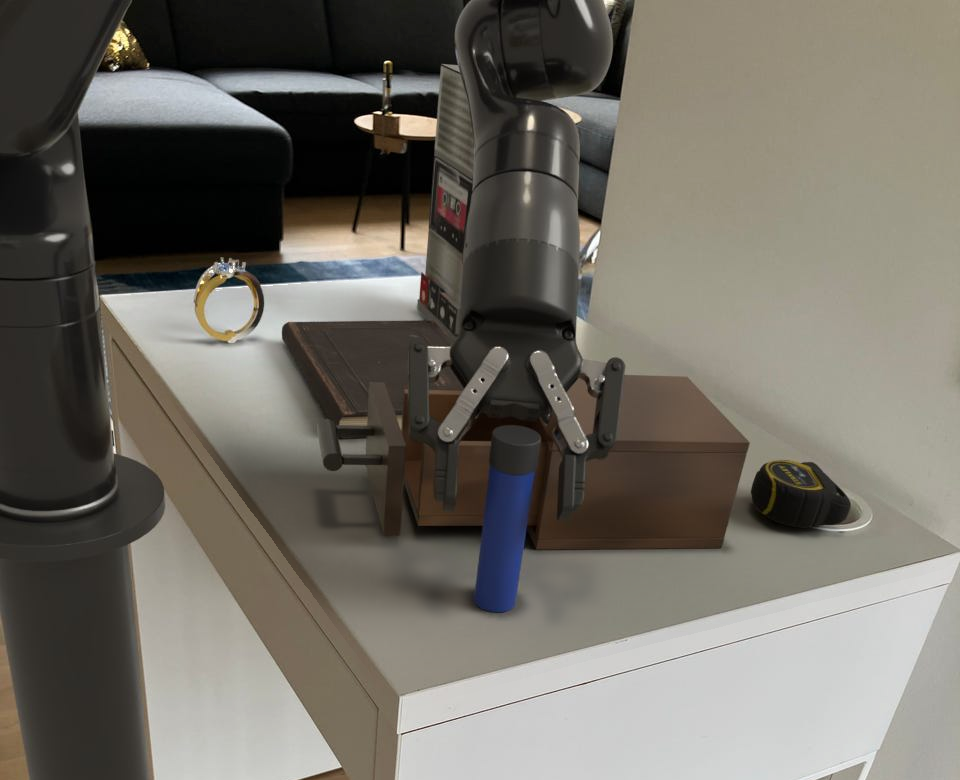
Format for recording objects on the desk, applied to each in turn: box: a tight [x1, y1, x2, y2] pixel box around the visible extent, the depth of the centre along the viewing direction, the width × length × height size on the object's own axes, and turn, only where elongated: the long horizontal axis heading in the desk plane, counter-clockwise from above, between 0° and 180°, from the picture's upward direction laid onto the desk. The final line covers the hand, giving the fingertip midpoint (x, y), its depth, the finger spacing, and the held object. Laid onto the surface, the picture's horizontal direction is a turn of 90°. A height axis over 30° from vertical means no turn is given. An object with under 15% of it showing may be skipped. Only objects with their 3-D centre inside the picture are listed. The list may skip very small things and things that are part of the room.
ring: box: [193, 257, 265, 344], centre depth 104 cm, size 7×3×8 cm, turn 120°
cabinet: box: [526, 374, 751, 550], centre depth 82 cm, size 15×13×9 cm
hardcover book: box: [281, 319, 464, 440], centre depth 100 cm, size 16×23×2 cm
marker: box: [473, 425, 541, 613], centre depth 68 cm, size 3×3×12 cm
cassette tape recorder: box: [416, 63, 474, 342], centre depth 109 cm, size 14×6×25 cm, turn 21°
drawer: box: [316, 382, 549, 536], centre depth 79 cm, size 18×12×7 cm, turn 101°
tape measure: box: [750, 459, 852, 529], centre depth 86 cm, size 7×7×4 cm
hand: (507, 511), depth 66 cm, fingers open, 6 cm apart
